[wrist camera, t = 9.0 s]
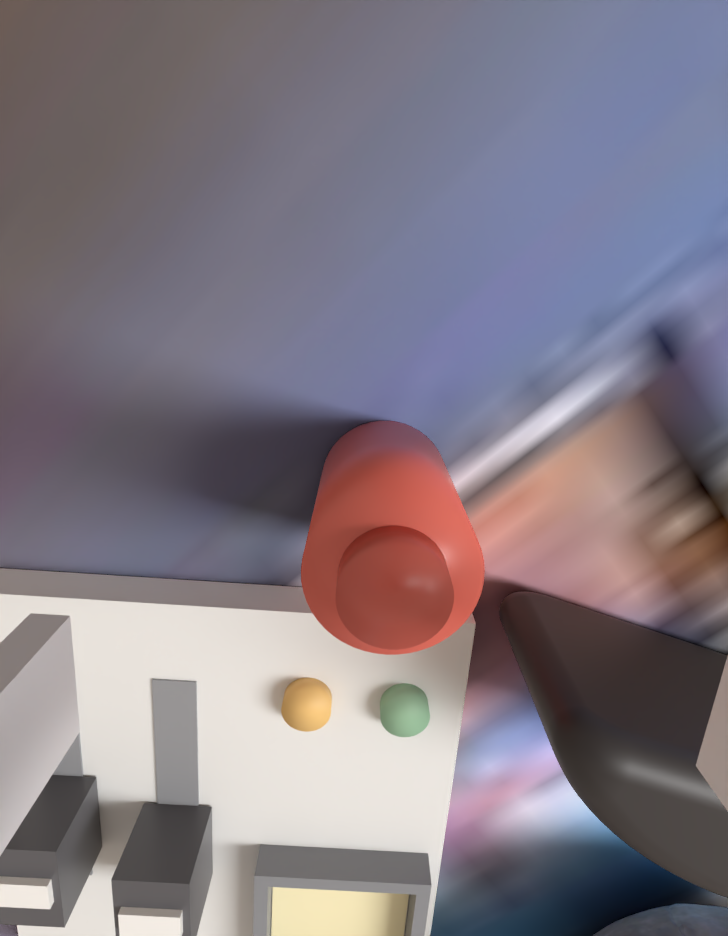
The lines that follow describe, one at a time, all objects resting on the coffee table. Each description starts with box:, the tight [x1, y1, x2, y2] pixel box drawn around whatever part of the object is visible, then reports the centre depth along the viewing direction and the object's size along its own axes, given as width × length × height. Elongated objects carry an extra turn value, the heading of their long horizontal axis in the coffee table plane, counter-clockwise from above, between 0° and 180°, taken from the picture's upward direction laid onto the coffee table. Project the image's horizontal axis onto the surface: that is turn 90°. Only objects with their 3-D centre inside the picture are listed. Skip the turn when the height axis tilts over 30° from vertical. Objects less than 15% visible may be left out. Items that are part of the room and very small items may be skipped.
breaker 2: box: [111, 803, 213, 936], centre depth 25 cm, size 4×3×4 cm
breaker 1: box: [0, 775, 102, 928], centre depth 24 cm, size 4×3×4 cm
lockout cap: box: [301, 421, 485, 655], centre depth 19 cm, size 5×5×9 cm
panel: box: [0, 568, 476, 936], centre depth 27 cm, size 22×20×4 cm
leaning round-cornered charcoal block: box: [499, 591, 728, 898], centre depth 22 cm, size 16×5×9 cm, turn 70°
